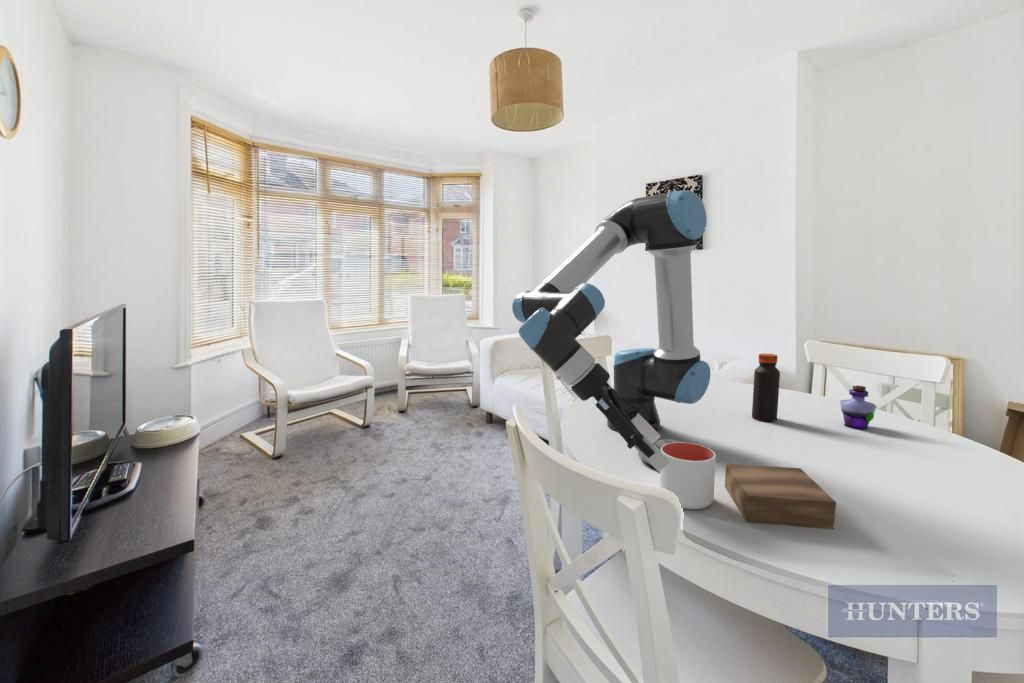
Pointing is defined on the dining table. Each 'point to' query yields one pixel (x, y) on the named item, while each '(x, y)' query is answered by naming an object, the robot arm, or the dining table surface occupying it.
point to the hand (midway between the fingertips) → (659, 452)
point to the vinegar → (766, 389)
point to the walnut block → (779, 496)
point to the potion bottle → (857, 409)
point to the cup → (689, 474)
